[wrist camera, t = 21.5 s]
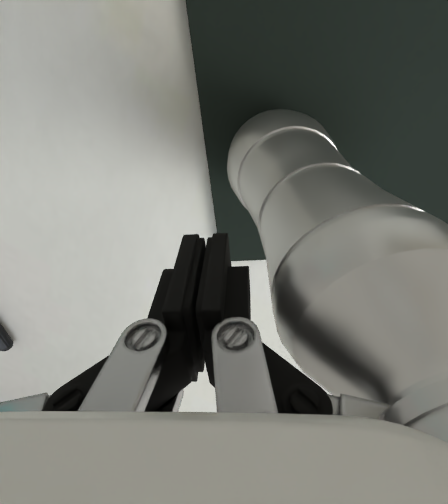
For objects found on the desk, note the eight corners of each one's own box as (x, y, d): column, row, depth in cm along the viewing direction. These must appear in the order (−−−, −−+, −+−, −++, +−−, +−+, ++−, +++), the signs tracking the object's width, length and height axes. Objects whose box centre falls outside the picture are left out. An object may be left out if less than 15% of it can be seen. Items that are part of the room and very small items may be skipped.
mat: (184, -20, 18) (182, -21, 17) (865, -115, 15) (887, -120, 14) (221, 257, 29) (221, 261, 28) (614, 239, 26) (621, 243, 25)
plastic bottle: (259, 78, 19) (647, 370, 3) (339, 137, 22) (778, 465, 6) (204, 168, 22) (263, 564, 6) (281, 211, 25) (465, 571, 9)
